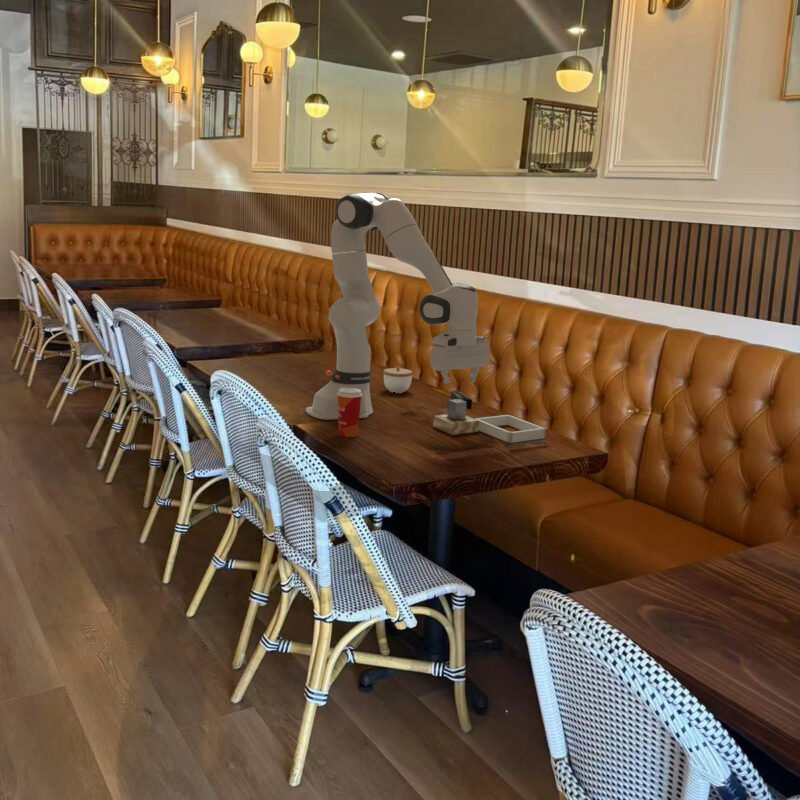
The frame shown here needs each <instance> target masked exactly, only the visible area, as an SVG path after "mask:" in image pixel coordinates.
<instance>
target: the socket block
mask: <svg viewBox="0 0 800 800" xmlns="http://www.w3.org/2000/svg"><path fill="white" fill-rule="evenodd" d="M447 415H448V413H447V414H439V415H433V424H432V425H433V426H432V427H433V428H435V429H437V430H439V431H442V432H444V433H446V434H449V435H451V436H454V435H455V436H456V435H461V434H470V433H476V432H477V433H478V432H479V430H478V427H479V420H476V419H475V418H473V417H470V416H469V415H466V417H465V420H459V421H453V420H451V419H448V418H447Z"/></svg>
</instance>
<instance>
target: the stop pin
mask: <svg viewBox="0 0 800 800" xmlns="http://www.w3.org/2000/svg"><path fill="white" fill-rule="evenodd" d="M447 402H448V404H447V414H448V415H447V418H448V419H451V420H453V421H459V420H465V417H466V416H467V409H466V403H467V402H466V401H463V400H460V399H454V400H450V399H447Z"/></svg>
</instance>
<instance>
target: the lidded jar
mask: <svg viewBox="0 0 800 800" xmlns="http://www.w3.org/2000/svg"><path fill="white" fill-rule="evenodd" d="M412 379H413V370H411V369H407V368H400V366H399V365H398V366H396V367H393V368H392V367H391V368H389V367H388V368H385V369H383V383H384V386H385V388H386V389H387V391H388V392H390V393H393V392H395V393H394V394H402V393H403V392H404V393H405V392H406V391H407V390H408V389H409V388H410V386H411V383H412ZM404 393H403V394H404Z"/></svg>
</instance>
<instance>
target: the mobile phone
mask: <svg viewBox="0 0 800 800" xmlns="http://www.w3.org/2000/svg"><path fill="white" fill-rule="evenodd" d="M449 397H450V399H449V400H454V399H460V400H463V401H466V402H467V403H466V410H472V405H473V399H472V398H470V397H468V396H467V395H465V394H464V393H463V392H461V391H460V390H451V391H450V396H449Z"/></svg>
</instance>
